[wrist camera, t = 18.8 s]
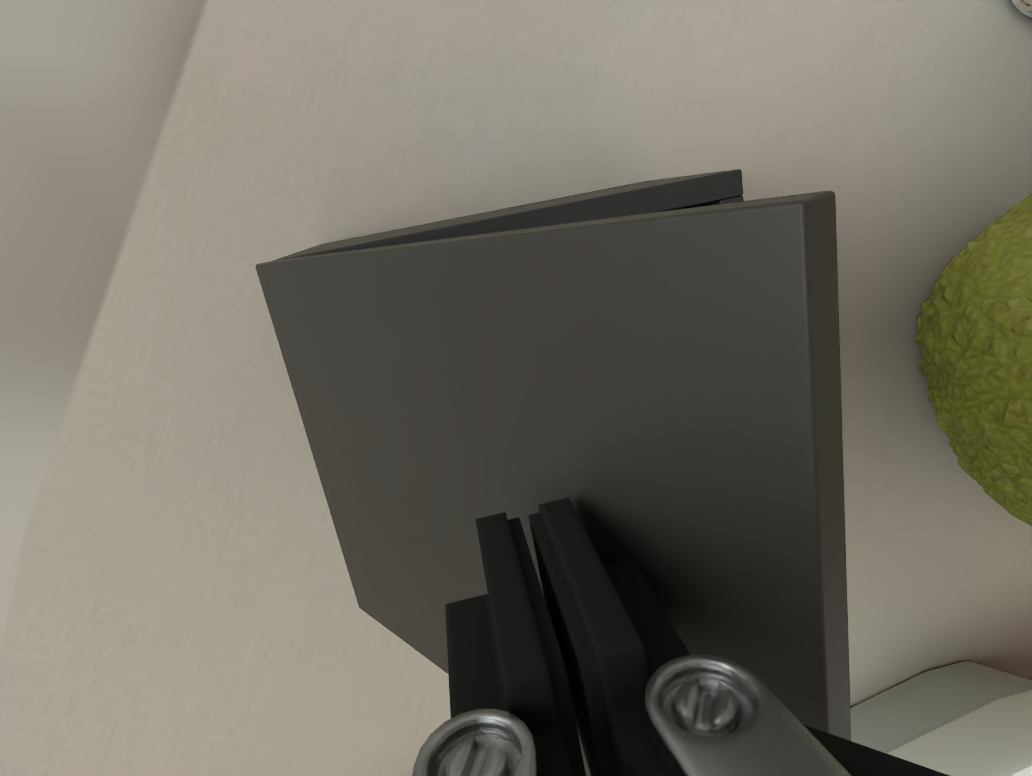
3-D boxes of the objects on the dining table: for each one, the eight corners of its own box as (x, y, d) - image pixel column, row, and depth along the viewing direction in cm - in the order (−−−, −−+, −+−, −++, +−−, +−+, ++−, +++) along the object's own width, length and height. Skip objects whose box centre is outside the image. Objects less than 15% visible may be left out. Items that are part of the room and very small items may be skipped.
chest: (646, 181, 28) (741, 168, 20) (674, 421, 31) (765, 498, 23) (319, 244, 27) (271, 260, 18) (385, 487, 30) (370, 594, 22)
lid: (837, 189, 7) (804, 200, 6) (858, 922, 10) (838, 966, 10) (281, 258, 18) (254, 265, 18) (379, 595, 22) (358, 608, 21)
